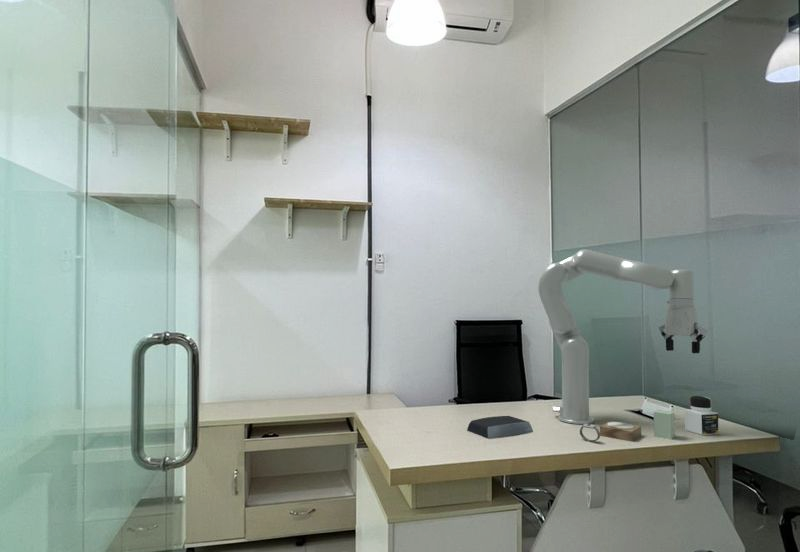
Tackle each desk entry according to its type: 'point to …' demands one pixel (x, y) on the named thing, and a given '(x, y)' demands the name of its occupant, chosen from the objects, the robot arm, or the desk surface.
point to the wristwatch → (591, 428)
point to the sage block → (664, 424)
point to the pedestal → (620, 430)
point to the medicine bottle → (701, 417)
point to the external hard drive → (499, 427)
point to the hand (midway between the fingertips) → (682, 351)
